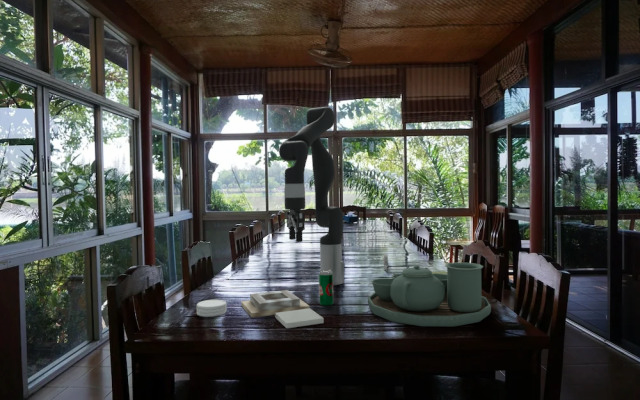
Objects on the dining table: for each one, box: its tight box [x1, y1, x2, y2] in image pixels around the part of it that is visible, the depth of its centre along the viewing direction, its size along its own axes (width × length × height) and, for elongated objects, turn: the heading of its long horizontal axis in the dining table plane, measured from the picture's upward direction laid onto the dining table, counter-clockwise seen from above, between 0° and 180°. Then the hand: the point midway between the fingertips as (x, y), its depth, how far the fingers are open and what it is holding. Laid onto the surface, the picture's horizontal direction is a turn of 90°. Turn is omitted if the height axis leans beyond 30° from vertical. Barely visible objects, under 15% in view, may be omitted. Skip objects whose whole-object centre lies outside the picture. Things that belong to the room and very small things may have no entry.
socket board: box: [240, 289, 310, 319], centre depth 153 cm, size 20×16×4 cm
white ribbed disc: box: [195, 299, 228, 318], centre depth 149 cm, size 10×10×4 cm
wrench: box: [382, 254, 389, 272], centre depth 225 cm, size 8×2×30 cm
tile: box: [274, 307, 325, 329], centre depth 139 cm, size 12×12×2 cm
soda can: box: [318, 269, 334, 307], centre depth 156 cm, size 5×5×12 cm
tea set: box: [367, 262, 492, 328], centre depth 148 cm, size 40×40×16 cm
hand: (295, 240), depth 160 cm, fingers open, 8 cm apart
